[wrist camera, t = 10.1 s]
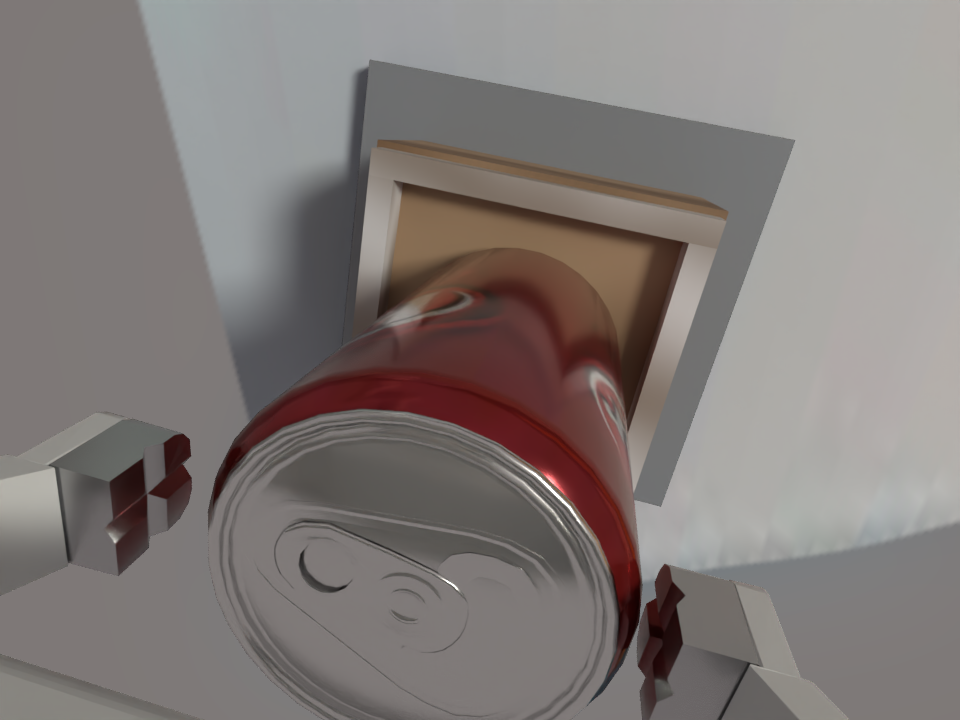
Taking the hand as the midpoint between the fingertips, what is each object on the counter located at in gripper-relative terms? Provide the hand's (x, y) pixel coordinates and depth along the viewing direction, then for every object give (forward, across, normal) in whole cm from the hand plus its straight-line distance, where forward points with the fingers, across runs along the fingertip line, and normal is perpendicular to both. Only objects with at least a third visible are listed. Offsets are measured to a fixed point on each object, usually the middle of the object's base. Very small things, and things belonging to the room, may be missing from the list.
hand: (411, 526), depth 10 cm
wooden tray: (+17, 0, +1) cm, 17 cm away
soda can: (+11, 0, +1) cm, 11 cm away
